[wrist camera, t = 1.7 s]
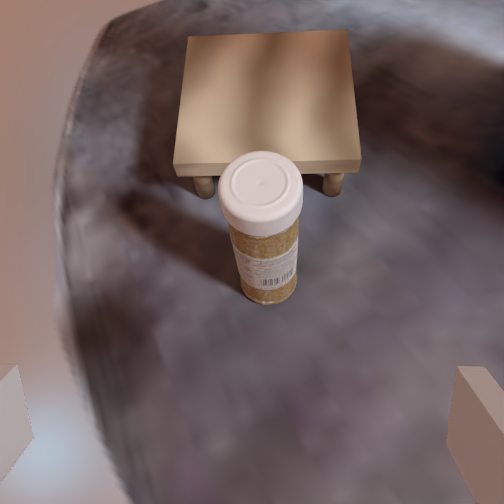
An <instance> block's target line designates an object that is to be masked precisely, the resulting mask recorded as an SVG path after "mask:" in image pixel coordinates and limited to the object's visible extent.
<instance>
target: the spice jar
mask: <svg viewBox="0 0 504 504" xmlns="http://www.w3.org/2000/svg"><path fill="white" fill-rule="evenodd" d="M218 195H219V201H220V205H221V209H222V212H223V215H224V217H225V218H226V220H227V221H228V225H229V229H230V237H231V241H232V245H233V249H234V254H235V258H236V263H237V267H238V271H239V273H240V281H241V287H242V289H243V291H244V293H245V294H246V296H247V297H248V298H250V299H251V300H252V301H254V302H256V303H259V304H263V305H273V304H277V303H280V302H282V301H284V300H285V299H287V298H288V297H289V296H290V295H291V294H292V292H293V291H294V289H295V286H296V283H297V274H296V263H297V251H298V229H299V227H298V223H299V214H300V212H301V209H302V203H303V181H302V177H301V174H300V172H299V170H298V168H297V167H296V166H295V164H294V163H293V162H292V161H290V160H289V159H288V158H286V157H285V156H283V155H280V154H278V153H275V152H270V151H254V152H249V153H246V154H243V155H241V156H239V157H237V158H236V159H234V160H233V161H231V162H230V163H229V164H228V165H227V166H226V168H225V169H224V170H223V172H222V174H221V176H220V179H219V182H218Z"/></svg>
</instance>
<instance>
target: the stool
mask: <svg viewBox="0 0 504 504" xmlns="http://www.w3.org/2000/svg"><path fill="white" fill-rule="evenodd" d="M254 151H270V152H275V153H278V154H280V155H283V156H285V157H286V158H288V159H289V160H290V161H292V162H293V163H294V164H295V166H296V167H297V168H298V170H299V172H300V174H314V173H324V181H323V188H322V190H323V193H324V194H325V195H327V196H329V197H335V196H337V195H339V194H340V192H341V188H342V183H343V178H344V173H358V172H359V168H360V164H361V160H362V158H361V149H360V140H359V131H358V122H357V113H356V104H355V95H354V86H353V77H352V68H351V58H350V49H349V40H348V31H347V30H325V31H302V32H279V33H255V34H232V35H209V36H188V43H187V51H186V59H185V67H184V76H183V84H182V92H181V101H180V109H179V117H178V125H177V134H176V142H175V150H174V158H173V166H174V168H175V171H176V174H177V176H192V178H193V181H194V184H195V187H196V190H197V194H198V196H199V197H200V198H202V199H209V198H211V197H213V196H214V194H215V187H214V183H213V179H212V176H221V174H222V172H223V170H224V169H225V168H226V166H227V165H228V164H229V163H230V162H231V161H233V160H234V159H236V158H237V157H239V156H241V155H243V154H246V153H249V152H254Z"/></svg>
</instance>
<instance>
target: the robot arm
mask: <svg viewBox="0 0 504 504" xmlns="http://www.w3.org/2000/svg"><path fill="white" fill-rule="evenodd" d="M33 438H34V437H33V432H32V427H31V423H30V418H29V414H28V409H27V405H26V400H25V396H24V391H23V387H22V383H21V378H20V374H19V369H18V365H17V364H0V484H1V482H2V481H3V479H4V478H5V477H6V475H7V474H8V473H9V471H10V470H11V468H12V467H13V466H14V464H15V463H16V461H17V460H18V459H19V457H20V456H21V454H22V453H23V452H24V450H25V449H26V447H27V446H28V445H29V444H30V442H31V441H32V439H33ZM446 445H447V447H448V448H449V450H450V452H451V454H452V456H453V458H454V460H455V462H456V464H457V466H458V468H459V470H460V472H461V474H462V476H463V478H464V480H465V482H466V484H467V486H468V488H469V490H470V492H471V494H472V496H473V498H474V500H475V502H476V504H504V391H503V390H502V389H501V387H500V386H499V385H498V384H497V382H496V381H495V380H494V379H493V377H492V376H491V375H490V373H489V372H488V371H487V370H486V368H485V367H480V366H457V368H456V376H455V383H454V390H453V397H452V405H451V412H450V419H449V426H448V434H447V441H446Z"/></svg>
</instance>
